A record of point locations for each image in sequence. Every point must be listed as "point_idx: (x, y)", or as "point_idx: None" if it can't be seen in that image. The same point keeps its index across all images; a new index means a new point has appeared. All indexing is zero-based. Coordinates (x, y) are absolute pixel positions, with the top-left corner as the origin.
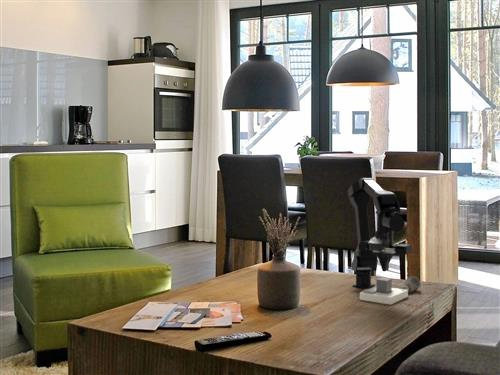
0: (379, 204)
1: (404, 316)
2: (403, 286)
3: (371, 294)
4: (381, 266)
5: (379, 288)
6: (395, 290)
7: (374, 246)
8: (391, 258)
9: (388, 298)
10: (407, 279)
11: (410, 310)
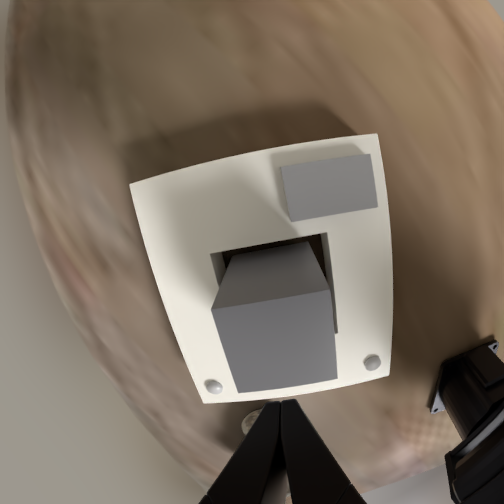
0: None
1: (18, 86)
2: None
3: (280, 147)
4: (311, 436)
5: (288, 264)
6: None
7: None
8: None
9: (148, 179)
10: (287, 481)
11: (39, 174)
